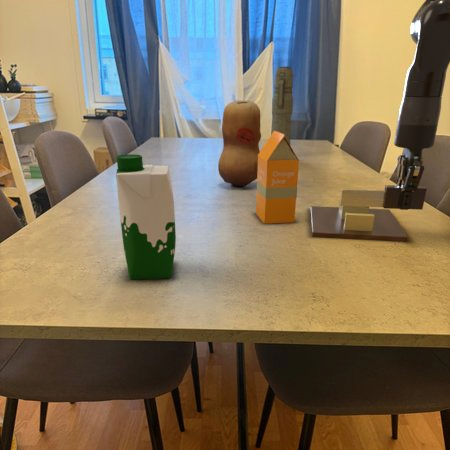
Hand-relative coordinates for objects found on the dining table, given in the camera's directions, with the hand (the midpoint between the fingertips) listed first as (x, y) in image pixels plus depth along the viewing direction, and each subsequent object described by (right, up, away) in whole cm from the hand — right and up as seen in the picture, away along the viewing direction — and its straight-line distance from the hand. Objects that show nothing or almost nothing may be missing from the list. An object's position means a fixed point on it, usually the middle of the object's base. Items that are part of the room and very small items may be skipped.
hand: (402, 207), depth 94 cm
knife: (-4, 0, +1) cm, 5 cm away
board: (-8, -2, +10) cm, 13 cm away
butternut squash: (-34, +17, +46) cm, 59 cm away
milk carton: (-52, -15, -15) cm, 56 cm away
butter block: (-7, +1, +13) cm, 15 cm away
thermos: (-14, +44, +99) cm, 109 cm away
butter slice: (-9, -4, +3) cm, 10 cm away
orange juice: (-26, 0, +14) cm, 30 cm away
